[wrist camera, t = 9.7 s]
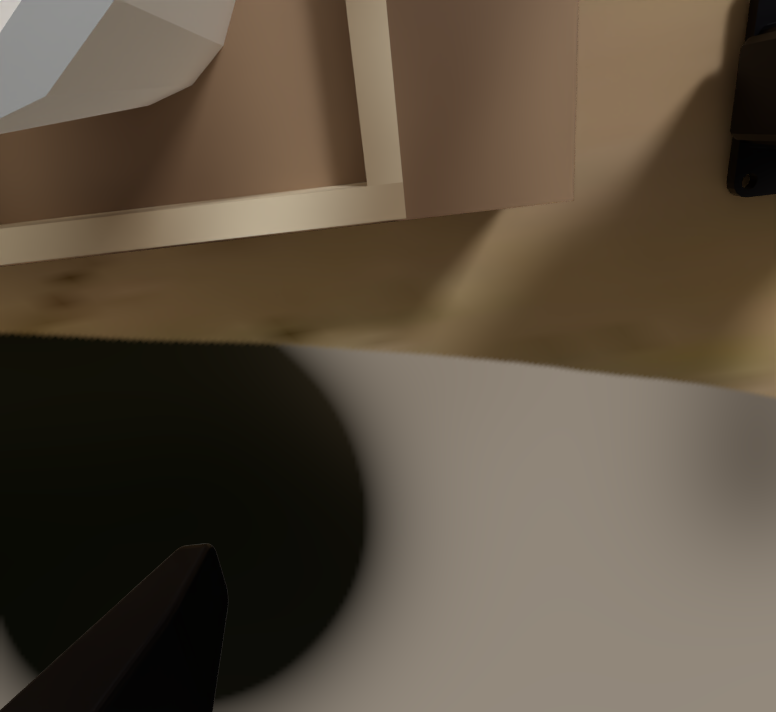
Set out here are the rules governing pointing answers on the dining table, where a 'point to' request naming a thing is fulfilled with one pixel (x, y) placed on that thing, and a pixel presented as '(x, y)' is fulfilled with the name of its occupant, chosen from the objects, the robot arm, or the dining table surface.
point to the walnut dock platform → (312, 131)
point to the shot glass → (101, 55)
